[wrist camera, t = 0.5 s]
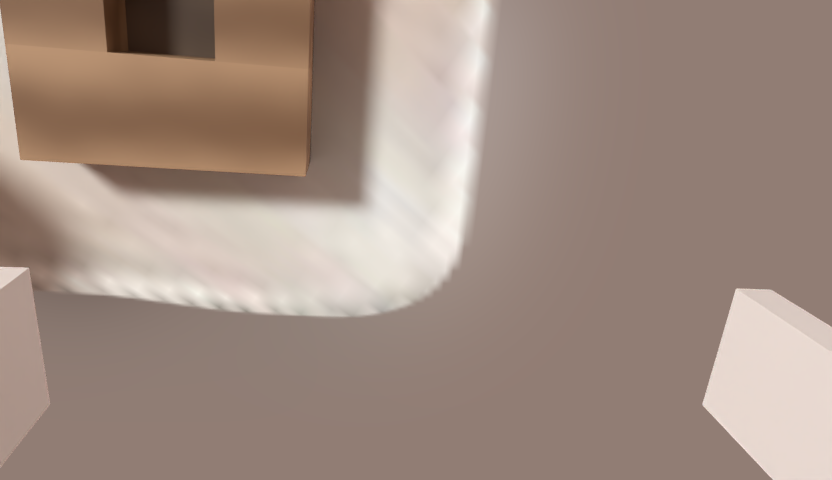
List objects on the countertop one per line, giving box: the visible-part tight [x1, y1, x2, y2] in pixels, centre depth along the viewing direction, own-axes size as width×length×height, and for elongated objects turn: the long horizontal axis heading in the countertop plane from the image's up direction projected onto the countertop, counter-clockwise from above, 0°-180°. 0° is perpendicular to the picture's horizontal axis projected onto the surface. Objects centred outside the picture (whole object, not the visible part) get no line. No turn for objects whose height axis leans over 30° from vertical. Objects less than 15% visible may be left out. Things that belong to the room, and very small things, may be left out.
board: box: [0, 0, 315, 177], centre depth 29 cm, size 16×14×4 cm
